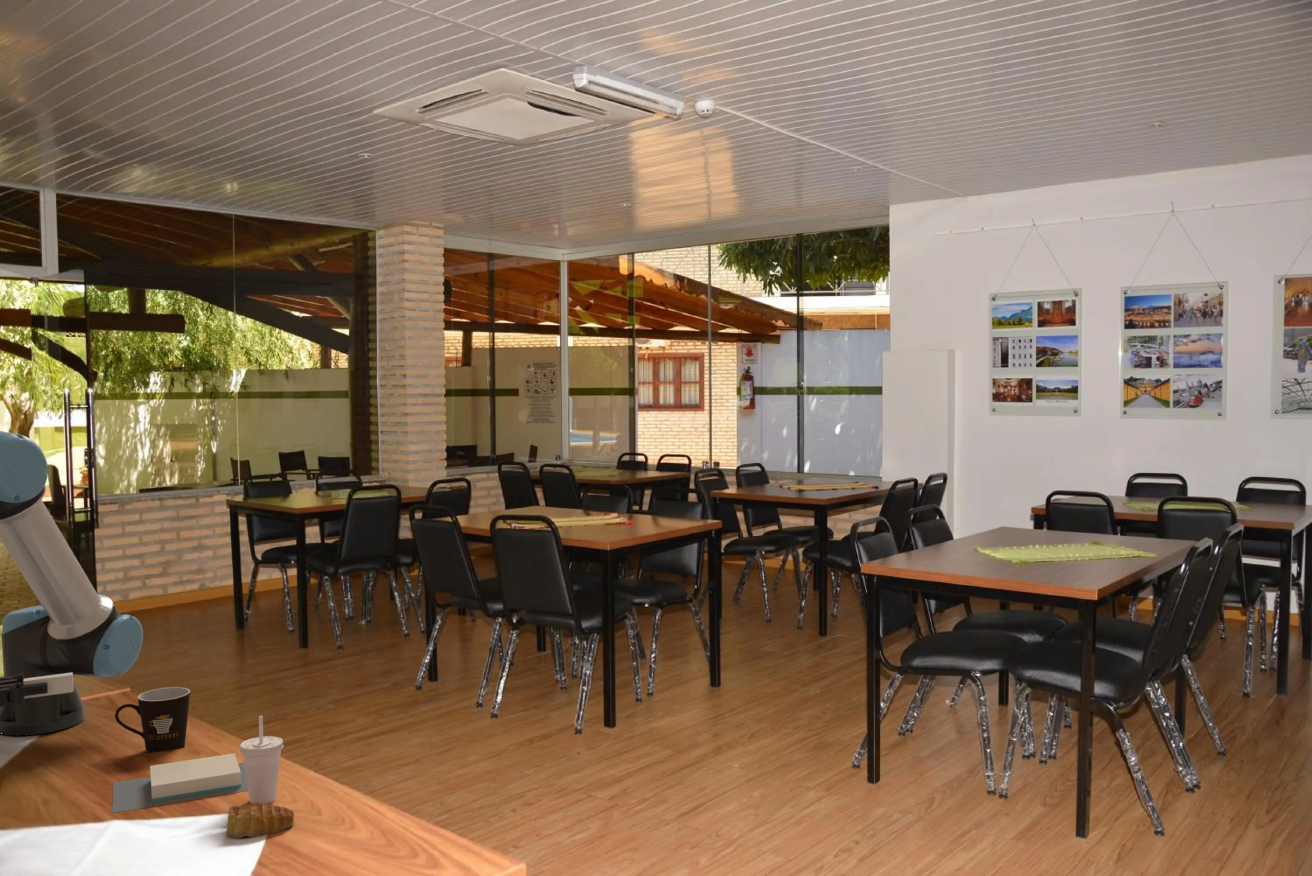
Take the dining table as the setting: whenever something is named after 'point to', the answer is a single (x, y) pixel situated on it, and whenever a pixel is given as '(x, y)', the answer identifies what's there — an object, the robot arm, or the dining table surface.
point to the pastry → (257, 820)
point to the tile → (194, 777)
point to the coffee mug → (161, 718)
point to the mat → (139, 797)
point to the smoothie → (262, 766)
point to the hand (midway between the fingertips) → (72, 682)
